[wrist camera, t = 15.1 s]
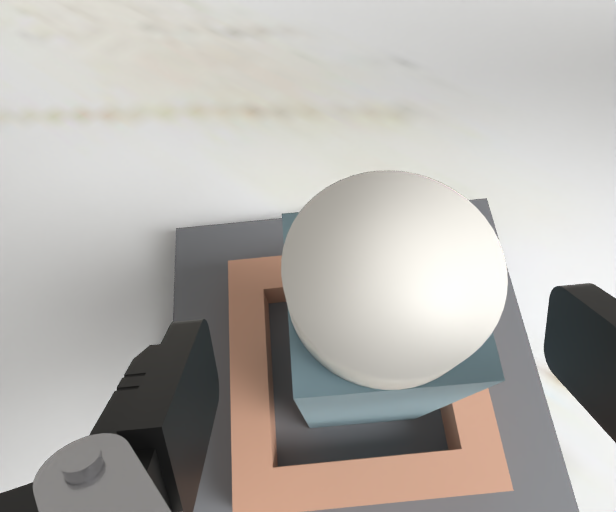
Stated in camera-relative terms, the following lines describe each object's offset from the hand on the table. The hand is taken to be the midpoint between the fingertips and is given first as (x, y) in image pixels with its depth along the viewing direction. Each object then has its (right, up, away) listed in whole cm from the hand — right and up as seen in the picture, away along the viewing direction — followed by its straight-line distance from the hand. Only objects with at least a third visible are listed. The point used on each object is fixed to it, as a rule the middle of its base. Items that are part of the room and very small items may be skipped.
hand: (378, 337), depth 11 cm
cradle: (0, -4, +10) cm, 11 cm away
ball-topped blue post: (0, -3, +9) cm, 10 cm away
